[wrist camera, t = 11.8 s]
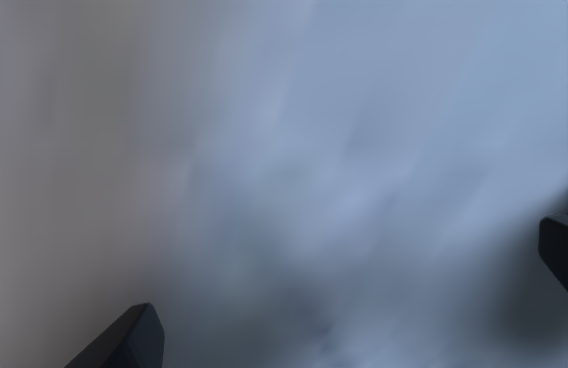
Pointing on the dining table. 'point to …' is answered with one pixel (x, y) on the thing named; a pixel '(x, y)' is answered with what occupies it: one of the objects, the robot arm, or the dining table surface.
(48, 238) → the dining table surface
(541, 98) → the dining table surface
